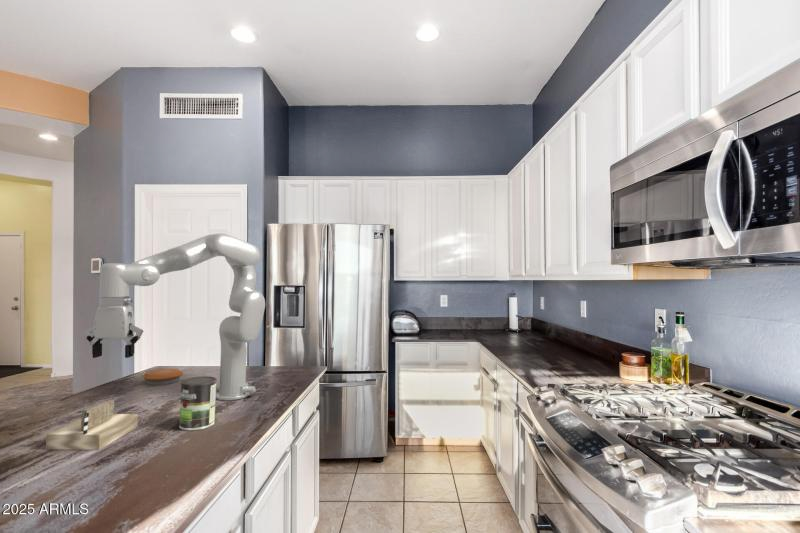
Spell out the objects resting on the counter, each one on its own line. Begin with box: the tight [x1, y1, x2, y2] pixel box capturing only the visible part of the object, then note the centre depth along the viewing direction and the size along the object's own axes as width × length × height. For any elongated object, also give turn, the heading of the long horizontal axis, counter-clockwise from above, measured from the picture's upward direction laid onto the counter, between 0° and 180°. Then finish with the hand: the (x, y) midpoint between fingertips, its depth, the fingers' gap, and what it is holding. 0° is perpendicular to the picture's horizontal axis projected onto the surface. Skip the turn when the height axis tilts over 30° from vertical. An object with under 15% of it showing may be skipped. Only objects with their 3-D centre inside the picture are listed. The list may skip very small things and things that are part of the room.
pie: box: [142, 368, 184, 386], centre depth 172 cm, size 16×16×5 cm
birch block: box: [45, 413, 139, 451], centre depth 113 cm, size 14×16×4 cm
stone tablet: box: [80, 399, 115, 435], centre depth 111 cm, size 6×4×12 cm
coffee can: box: [178, 375, 218, 431], centre depth 124 cm, size 10×10×14 cm
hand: (113, 356), depth 122 cm, fingers open, 9 cm apart
